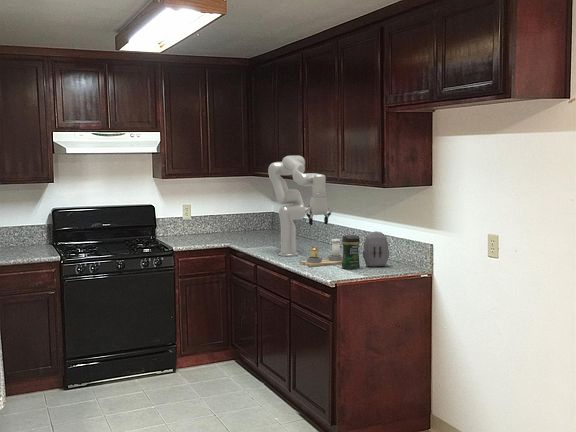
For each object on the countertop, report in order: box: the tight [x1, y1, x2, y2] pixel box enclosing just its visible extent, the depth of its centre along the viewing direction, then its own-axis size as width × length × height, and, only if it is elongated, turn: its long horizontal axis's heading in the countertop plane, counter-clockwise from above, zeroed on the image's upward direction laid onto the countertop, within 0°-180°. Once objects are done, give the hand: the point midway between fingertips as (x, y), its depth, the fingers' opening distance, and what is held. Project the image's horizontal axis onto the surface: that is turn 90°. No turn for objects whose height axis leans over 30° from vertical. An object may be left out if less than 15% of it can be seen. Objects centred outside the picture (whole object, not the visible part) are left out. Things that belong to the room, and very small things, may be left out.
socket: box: [306, 256, 323, 263], centre depth 373 cm, size 8×8×2 cm
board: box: [299, 258, 342, 268], centre depth 376 cm, size 14×24×2 cm, turn 113°
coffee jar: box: [341, 234, 361, 270], centre depth 359 cm, size 10×8×19 cm
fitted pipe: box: [327, 238, 343, 261], centre depth 378 cm, size 8×8×12 cm
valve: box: [309, 246, 319, 259], centre depth 373 cm, size 6×5×9 cm
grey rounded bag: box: [362, 231, 390, 268], centre depth 363 cm, size 15×8×20 cm, turn 92°
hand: (318, 224), depth 381 cm, fingers open, 9 cm apart
